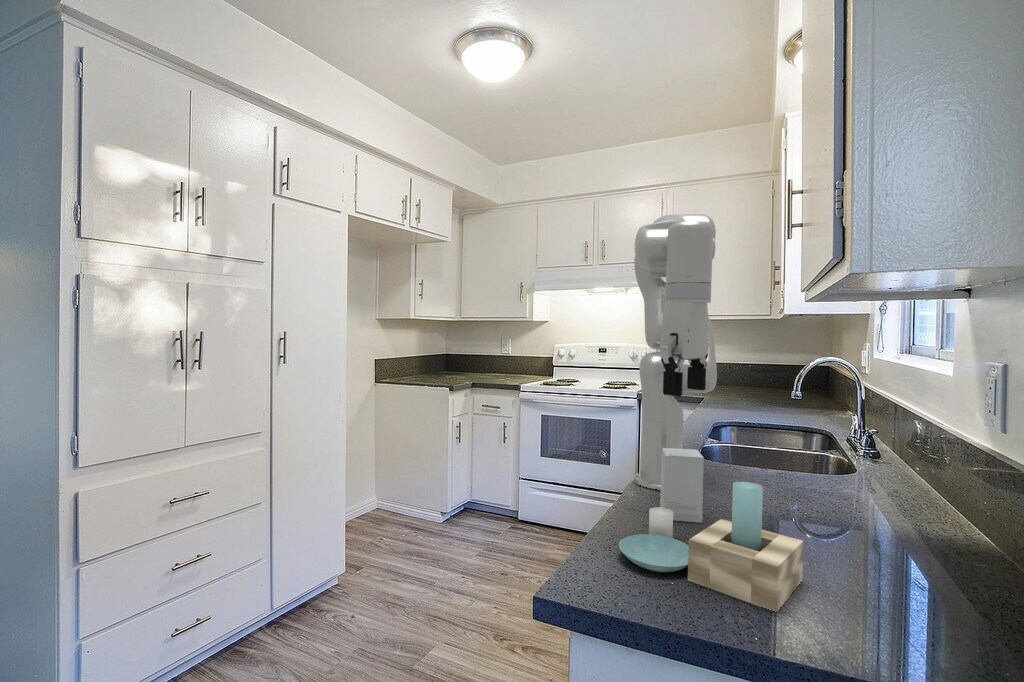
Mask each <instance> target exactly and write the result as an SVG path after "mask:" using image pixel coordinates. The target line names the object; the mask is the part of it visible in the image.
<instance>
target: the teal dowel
mask: <svg viewBox="0 0 1024 682" xmlns="http://www.w3.org/2000/svg"><path fill="white" fill-rule="evenodd" d="M763 496H764V487H763V485H761V484H758V483H754V482H751V481H750V482H749V481H735V482H733V483H732V503H731V504H732V505H731V507H732V508H731V522H732V535H731V543H732V544H735V545H739V546H742V547H745V548H749V549H752V550H756V551H759V552H760V551H761V541H762V530H763V504H764V503H763V500H764V498H763Z"/></svg>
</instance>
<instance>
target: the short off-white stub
mask: <svg viewBox="0 0 1024 682" xmlns="http://www.w3.org/2000/svg"><path fill="white" fill-rule="evenodd" d="M648 513H649V517H648V522H649V523H648V534H650V535H659V536H665V537H669V538H673V539H674V537H673V536H674V535H673V533H674V531H673V530H674V520H673V511H672V510H670V509H667V508H662V507H660V506H659V507H658V506H655V507H651V508H649V511H648Z"/></svg>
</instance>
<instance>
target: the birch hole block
mask: <svg viewBox="0 0 1024 682" xmlns="http://www.w3.org/2000/svg"><path fill="white" fill-rule="evenodd" d="M731 535H732V520H726V519H723V518H719V520H717V521H716V522H714V523H713V524H711V525H709V526H707V527H706V528H705V529H703V530H702V531H700V532H699V533H697V534H695V535H693V536H692V537H691V538H689V539H688V545H689V551H688V566H687V581H688V582H691V583H693V584H697V585H699V586H702V587H705V588H708V589H710V590H713V591H715V592H718V593H721V594H724V595H727V596H730V597H732V598H735V599H737V600H741V601H743V602H746V603H749V604H751V605H754V606H757V607H759V608H762V607H763V609H765V608H766V610H768V609H769V610H768V611H771V610H772V611H771V612H773V611H775V612H774V613H776V612H779V610H780V609H781V608H782V606H784V604H785V603H786V602H787V601H788V600H789V598H790V597H791V596H790V595H793V593H794V592H795V591H796V590H797V588H798V587H799V586H800V585H801V583H802V582H803V570H804V569H803V565H804V540H803V539H799V538H794V537H791V536H789V535H788V536H787V535H783V534H780V533H776V532H773V531H769V530H764V529H762V541H761V551H760V552H759V551H756V550H752V549H749V548H745V547H742V546H739V545H735V544H732V543H731ZM801 581H802V582H801ZM800 582H801V583H800ZM799 584H800V585H799ZM798 585H799V586H798ZM797 586H798V587H797ZM796 587H797V588H796ZM794 590H795V591H794ZM793 591H794V592H793ZM792 592H793V593H792ZM785 601H786V602H785ZM780 607H781V608H780Z"/></svg>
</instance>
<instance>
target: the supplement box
mask: <svg viewBox="0 0 1024 682" xmlns="http://www.w3.org/2000/svg"><path fill="white" fill-rule="evenodd" d="M704 459H705V458H704V456H703V454H702V453H700V451H699V450H698V449H694V448H693V449H692V448H683V449H675V448H662V453H661V490H660V495H659V496H660V498H659V499H660V500H659V507H662V508H667V509H670V510H672V511H673V521H675V522H686V523H687V522H688V523H699V524H700V523H701V524H702V523H703V508H704V507H703V505H704V504H703V500H704V499H703V497H704V468H705V467H704V466H705V465H704V462H705V461H704Z"/></svg>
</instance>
